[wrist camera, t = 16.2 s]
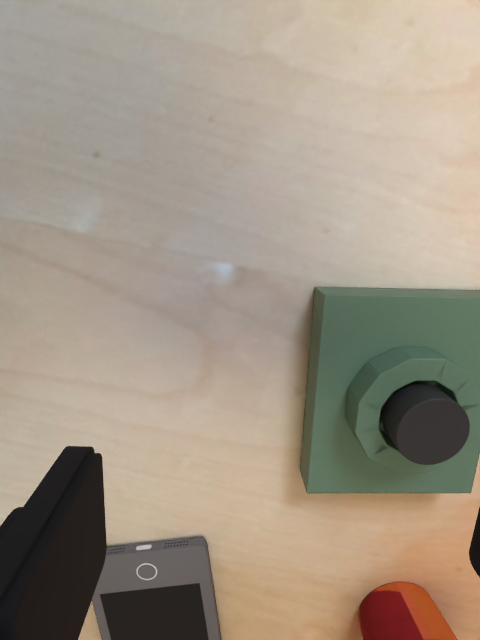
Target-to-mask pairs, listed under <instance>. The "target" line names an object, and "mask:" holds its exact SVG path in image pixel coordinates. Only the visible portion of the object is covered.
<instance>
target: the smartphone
mask: <svg viewBox="0 0 480 640" xmlns="http://www.w3.org/2000/svg"><path fill="white" fill-rule="evenodd" d="M92 602H93V606H94V610H95V614H96V618H97V622H98V625H99V629H100V633H101V637H102V640H221V634H220V627H219V620H218V613H217V607H216V600H215V593H214V587H213V580H212V573H211V567H210V560H209V553H208V547H207V543H206V541H205V539H203V538H201V537H199V538H190V539H181V540H172V541H163V542H154V543H145V544H136V545H127V546H118V547H109V548H106V558H105V563H104V566H103V569H102V572H101V575H100V578H99V581H98V583H97V586H96V589H95V592H94V595H93V598H92Z"/></svg>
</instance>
